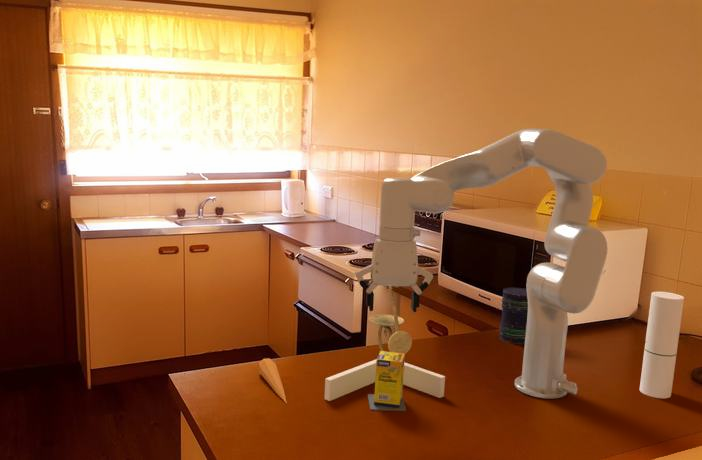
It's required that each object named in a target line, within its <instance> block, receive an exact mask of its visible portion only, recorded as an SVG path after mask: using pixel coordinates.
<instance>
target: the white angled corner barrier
mask: <svg viewBox="0 0 702 460" xmlns="http://www.w3.org/2000/svg"><path fill="white" fill-rule="evenodd" d="M376 360H377V358H376V359H373V360H371V361H368V362H365V363H363V364H360V365H358V366H355V367H352V368H349V369H347V370H344V371H342V372H339V373H336V374H334V375H331V376H329V377H326V378H325V379H324V400H326V401H328V402H331V401H333V400H336V399H338V398H340V397H343V396H345V395H347V394H351V393H352V392H355V391H357V390H359V389H361V388H364V387H367V386H369V385H371V384H375V378H376ZM445 382H446V375H443V374H440V373H437V372H433V371H431V370H428V369H424V368H422V367H419V366H416V365H414V364H410V363H408V362H406V361H404V375H403V386H407V387H410V388H412V389H415V390H417V391H420V392H422V393H425V394H428V395H431V396H433V397H435V398H438V399H441V398H444V397H445V384H446V383H445Z"/></svg>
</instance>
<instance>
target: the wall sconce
mask: <svg viewBox="0 0 702 460" xmlns="http://www.w3.org/2000/svg"><path fill="white" fill-rule="evenodd" d="M387 287H388V292H389V298H390V301H391V307H392V313H393V314H375V315H372V316H369V318H368V319H369V322H371V323H372V324H374V325H377V326H379V327H378V331H377V343H378V347H379V352H380V351H385V350H384V347H383V343H382V332H383V335H384V336H385V337H387V335H388V336H389V338H385V339H384V340H385V342H386V343H387V347H388V352H394V353H403V354H405V355H406V354H407V353H408V352H409V351H410V350H411V347H412V343H413V341H412V337H411V335H410V334H409V333H408V332H406V331H404V330H400V327H399V326H400V325H403V324H404V323H405V319H404V318H402V317H400V316H399V315H398V312H397V306H396V305H397V304H396V302H395V301H396V300H395V297H394V291H393V286H387ZM394 287H395V288H399V287H400V286H394ZM392 327H394V330H395V331H394V333H393V330H392ZM383 328H384V330H383ZM382 330H383V331H382Z"/></svg>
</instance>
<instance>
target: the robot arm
mask: <svg viewBox="0 0 702 460" xmlns="http://www.w3.org/2000/svg"><path fill="white" fill-rule="evenodd" d="M607 166H608V162H607V159H606V156H605V154H604V153H603V151H602V150H601V149H600V148H598V147H596V146H594V145H592V144H590V143H586V142H584V141H582V140H579V139H577V138H575V137H572V136H569V135H567V134H565V133H562V132H559V131H557V130H555V129H554V130H553V129H552V128H551V129H550V128H534V127H529V128H523V129H520V130H518V131H515V132H513V133H511V134H509V135H507V136H505V137H503V138H501V139H499V140H497V141H494V142H492V143H491V144H489V145H487V146H484V147H482V148H480V149H478V150H475V151H472V152H470V153H467V154H464V155H463V154H462V155H461V156H458V157H456V158H452V159H449V160H447V161H443V162H440V163H439V164H436V165H433V166H432V167H429V168H427V169H425V170H423V171H421V172H420V173H417V174H415V175H413V176H412V177H411V178H407V177H406V178H405V177H387V178H384V179H383V181H382V182H381V188H380V192H381V193H380V210H379V211H380V212H379V230H378V232H379V233H378V238H375V240H374V244H373V248H372V255H371V264H370V265H367V266H365V267H362V268H361V269H359V270H357V271H355V273H354V275H355V278H356V279H357V282H358V283H359V285H360V288H361V287H362V289H363V290H364V291H365V292H366V296H365V297H366V299H365V302H366V303H365V306H366V307H368V309H369V310H368V311H369V312H373V311H374V300H375V299H374V298H375V293H374V290H376V288H377V287H378V286H383V287H385V286H386V287H388V286H392V287H395V286H399V287H411V289H412V290H413V291H411V302H410V303H411V305H410V308H411V311H412V312H413V313H417V308H420V298H421V297H420V296H421V295H422V293H423V292H424V291H425V290H426V289H427V288H428V287H429V285H430V283H432V282H431V281H432V280H433V279H434V275H433V273H431V272H430V271H427V270H426V269H425V268H423V267H420V266H419V262H418V246H417V241H416V240H415V238H416V237H420V236H421V229H416V228H415V217H416V216H415V215H416V213H415V212H422V213H428V214H440V213H443V212H446V211H447V210H449V209H450V208H451V207H452V206H453V203H454V200H455V193H454V192H457V191H461V190H466V189H476V188H477V189H478V188H486V187H489V186H494V185H496V184H498V183H500V182H502V181H504V180H506V179H508V178H510V177H512V176H514V175H516V174H518V173H519V172H522V171H524V170H526V169H529V168H531V167H538V168H544V169H545V172H546V173H547V175H548V176H549V178H550V180H551V181H552V183H553V187H554V189H555V202H554V207H553V210H552V214H551V217H550V220H549V224H548V227H547V230H546V235H545V237H544V243H543V245H544V249H545V251H546V252H547V254H548V255H550V256H552V257H553V258H555V259H558V260H560V261H563V262H565V266H563V265H560V264H557V263H554V262H540V263H539V264H536V265H535V266H533V267H532V268H531V270H530V271H529V273H528V274H527V277H526V284H525V285H526V289H527V299H528V315H527V326H526V336H525V344H524V348H523V349H524V350H523V359H522V368H521V369H522V371H521V375H519V376H518V377H516V378H515V379H514V386H515V388H516V389H517V390H518V391H519V392H521V393H523V394H526V395H529V396H530V397H534V398H538V399H539V398H540V399H551V400H552V399H559V398H563V397H565V396H566V395H567V394H573V395H576V394H577V392H578V386H577V383H576V382H573V381H570V380H569V381H568V379H567V374H566V373H564V363H565V353H566V342H567V333H568V326H569V325H568V324H569V321H568V320H569V317H568V313H569V314H580V313H583V312H584V311H585V310H587V309H588V308H589V307H590V305H591V303H592V302H593V300H594V297H595V295H596V292H597V289H598V287H599V283H600V280H601V277H602V274H603V270H604V267H605V264H606V260H607V255H608V242H607V239H606V236H605V235H604V233H603V232H602V231H601V230H600V229H598V228H596V227H595V226H591V225H589V223H590V219H591V215H592V211H593V206H594V205H593V204H594V193H593V189H592V185H593V184H595V183H597V182H599V181H600V180H601V179H602V178H603V176H605V173H606V172H607ZM369 273H370V279H371V280H370V281H369V282H368V283H367V282H366V280H364V276H365V275H367V274H369ZM418 274H419V275H421V276H423V277H424V280H422V281H421V283H419V284H417V283H418V279H419V278H418V277H419V276H418Z"/></svg>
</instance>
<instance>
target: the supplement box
mask: <svg viewBox="0 0 702 460" xmlns="http://www.w3.org/2000/svg"><path fill="white" fill-rule="evenodd" d="M405 357H406V354H403V353H394V352H390V351H385V350H384V351H380V350H379V354H378V356H377V358H376V359H377V360H376V359H375V360H376V378H375V382H374V394H375V395H374V405H378V406H387V407H395V408H399V407H400V402H401V399H402V398H403V390H404V388H403V387H404V385H403V375H404V362H405V359H406V358H405Z"/></svg>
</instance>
